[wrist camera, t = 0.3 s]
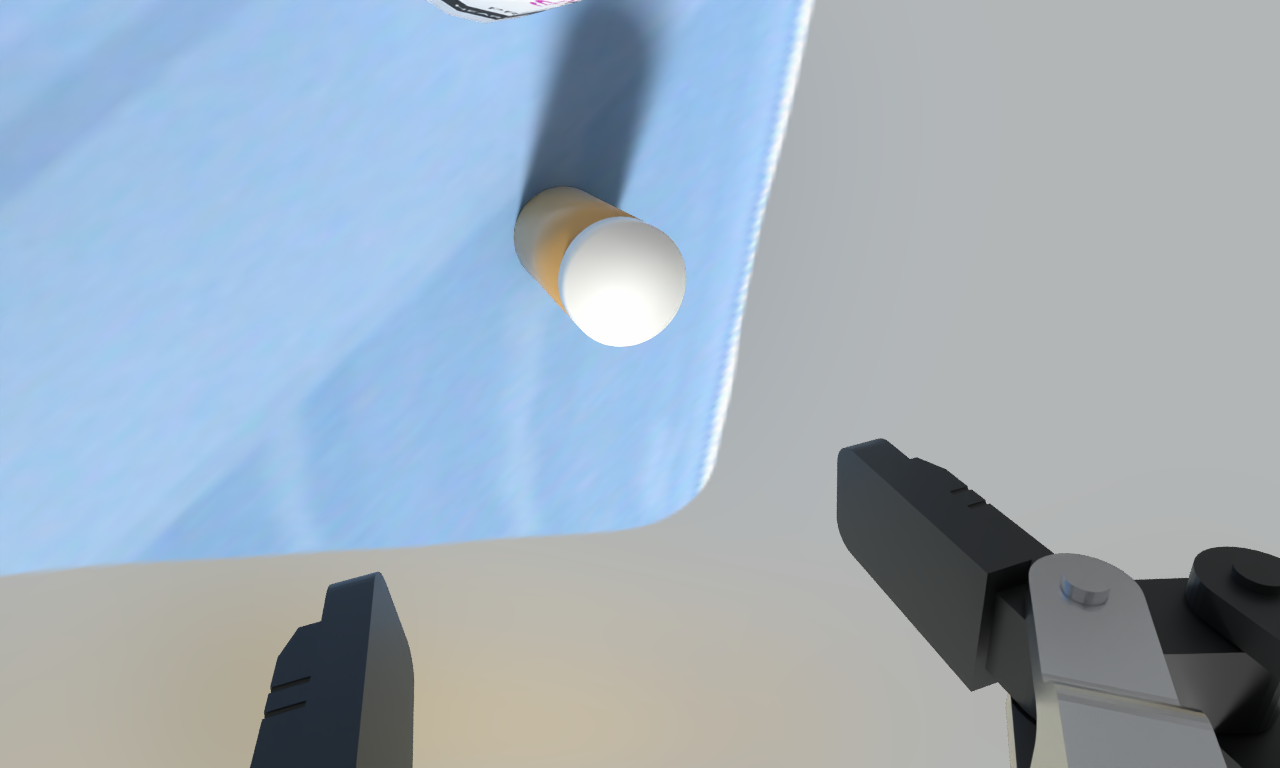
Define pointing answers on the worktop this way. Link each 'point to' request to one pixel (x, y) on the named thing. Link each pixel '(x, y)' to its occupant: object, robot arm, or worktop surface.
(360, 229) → the worktop surface
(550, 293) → the pill bottle
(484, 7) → the supplement can
